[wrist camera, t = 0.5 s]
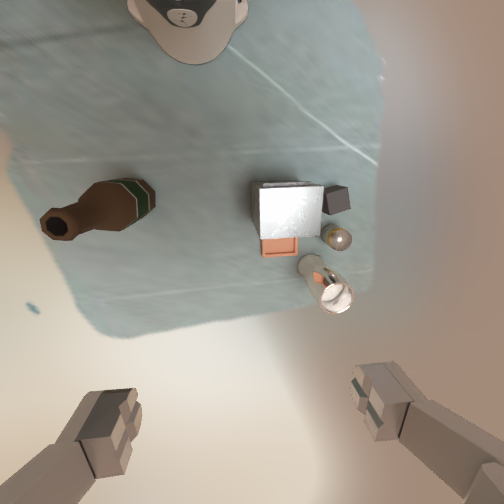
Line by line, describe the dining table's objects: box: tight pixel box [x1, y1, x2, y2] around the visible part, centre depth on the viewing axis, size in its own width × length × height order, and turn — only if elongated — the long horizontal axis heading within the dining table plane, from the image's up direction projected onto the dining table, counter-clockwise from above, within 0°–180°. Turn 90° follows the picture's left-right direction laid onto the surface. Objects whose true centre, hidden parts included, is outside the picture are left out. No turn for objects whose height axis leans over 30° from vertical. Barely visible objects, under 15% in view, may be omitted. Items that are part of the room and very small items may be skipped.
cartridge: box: [321, 224, 352, 251], centre depth 51 cm, size 5×5×6 cm
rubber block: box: [322, 185, 351, 215], centre depth 49 cm, size 4×4×5 cm
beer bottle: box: [40, 178, 155, 241], centre depth 36 cm, size 8×8×24 cm
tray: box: [261, 237, 298, 257], centre depth 52 cm, size 8×8×2 cm
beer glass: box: [298, 254, 354, 314], centre depth 49 cm, size 7×7×15 cm
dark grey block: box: [251, 180, 324, 240], centre depth 43 cm, size 9×10×14 cm
